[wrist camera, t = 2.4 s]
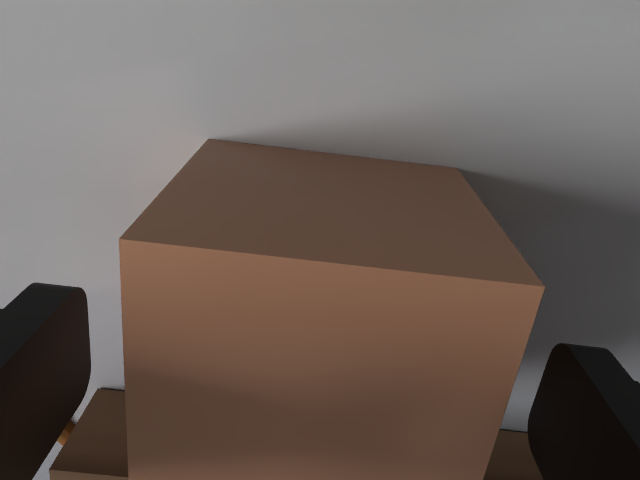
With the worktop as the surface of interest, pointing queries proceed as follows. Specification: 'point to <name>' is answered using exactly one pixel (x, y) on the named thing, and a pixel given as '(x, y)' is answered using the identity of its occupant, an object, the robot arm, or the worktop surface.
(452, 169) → the terracotta block
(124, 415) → the base board
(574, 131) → the worktop surface
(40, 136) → the worktop surface
